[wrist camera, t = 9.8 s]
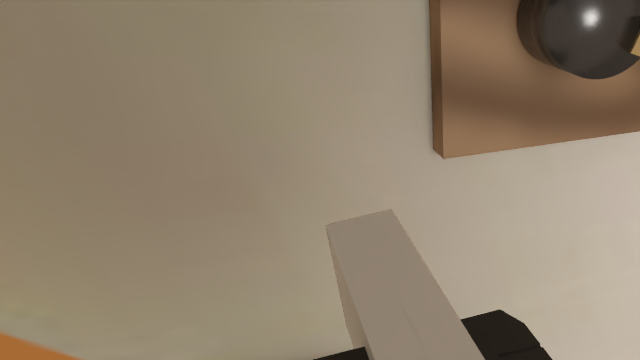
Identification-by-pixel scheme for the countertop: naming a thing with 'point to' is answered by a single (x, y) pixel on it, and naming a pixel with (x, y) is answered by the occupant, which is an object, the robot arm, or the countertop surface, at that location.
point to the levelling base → (513, 86)
